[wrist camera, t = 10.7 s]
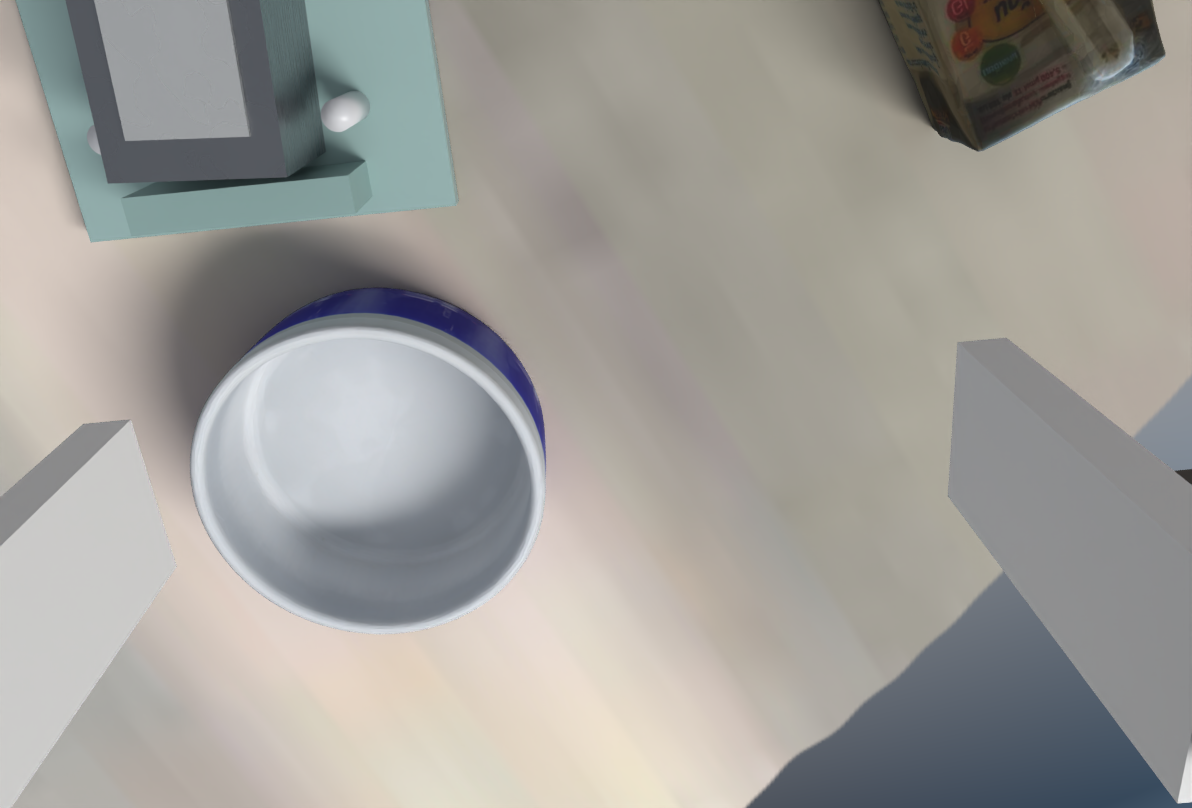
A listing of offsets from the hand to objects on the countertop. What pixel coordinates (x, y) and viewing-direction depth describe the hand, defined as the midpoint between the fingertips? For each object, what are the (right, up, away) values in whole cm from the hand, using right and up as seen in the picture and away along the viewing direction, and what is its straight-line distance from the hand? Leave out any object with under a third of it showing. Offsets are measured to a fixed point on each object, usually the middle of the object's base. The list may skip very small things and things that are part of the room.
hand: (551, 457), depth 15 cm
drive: (-14, +16, +23) cm, 31 cm away
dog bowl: (-9, -1, +32) cm, 33 cm away
